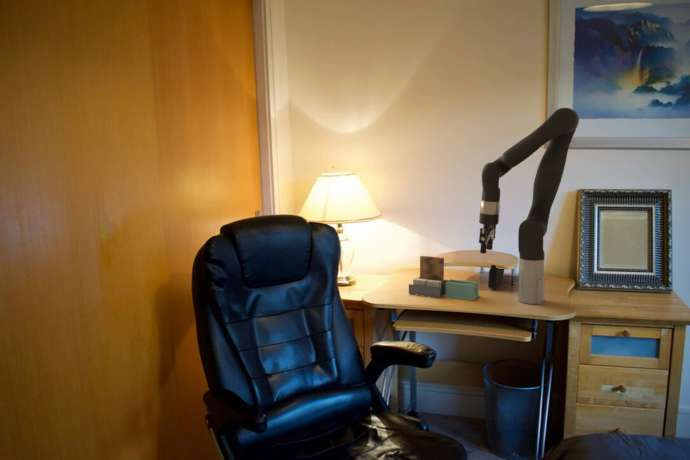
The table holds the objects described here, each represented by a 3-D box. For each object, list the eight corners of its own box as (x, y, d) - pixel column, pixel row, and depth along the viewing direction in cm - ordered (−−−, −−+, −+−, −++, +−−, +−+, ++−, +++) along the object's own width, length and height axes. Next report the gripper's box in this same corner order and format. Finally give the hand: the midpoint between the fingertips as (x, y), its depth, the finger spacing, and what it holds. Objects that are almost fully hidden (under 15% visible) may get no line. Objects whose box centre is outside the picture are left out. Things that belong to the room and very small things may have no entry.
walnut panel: (443, 289, 220) (443, 257, 218) (441, 291, 218) (442, 258, 216) (421, 287, 225) (421, 255, 223) (420, 288, 224) (420, 256, 222)
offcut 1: (428, 290, 219) (428, 279, 218) (425, 292, 216) (425, 280, 216) (416, 289, 222) (416, 278, 221) (413, 291, 219) (413, 279, 219)
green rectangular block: (479, 295, 213) (479, 281, 212) (473, 300, 207) (473, 286, 206) (451, 292, 220) (451, 278, 219) (444, 296, 213) (444, 282, 212)
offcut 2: (441, 292, 216) (441, 281, 215) (438, 294, 213) (438, 282, 213) (429, 291, 219) (429, 279, 218) (426, 292, 216) (426, 281, 215)
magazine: (495, 271, 217) (504, 239, 242) (487, 270, 218) (497, 238, 243) (496, 306, 224) (504, 271, 249) (488, 306, 225) (497, 271, 250)
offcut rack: (449, 291, 221) (449, 280, 220) (440, 298, 211) (440, 286, 211) (419, 287, 228) (419, 276, 227) (408, 293, 219) (408, 282, 218)
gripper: (493, 215, 200) (490, 256, 203) (503, 211, 212) (500, 249, 214) (474, 213, 203) (471, 253, 206) (485, 209, 215) (482, 247, 218)
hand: (486, 251), depth 210 cm, fingers open, 8 cm apart
